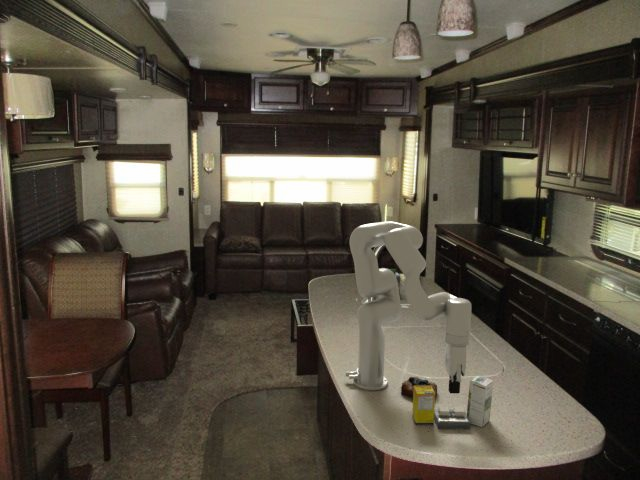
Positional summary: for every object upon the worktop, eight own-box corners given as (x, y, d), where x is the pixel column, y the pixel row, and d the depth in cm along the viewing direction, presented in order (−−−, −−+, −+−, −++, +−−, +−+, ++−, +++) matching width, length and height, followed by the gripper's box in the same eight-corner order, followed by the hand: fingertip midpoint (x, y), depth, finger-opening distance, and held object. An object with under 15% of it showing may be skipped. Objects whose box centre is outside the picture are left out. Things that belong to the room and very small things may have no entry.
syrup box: (473, 415, 183) (476, 374, 180) (490, 421, 180) (493, 379, 177) (465, 421, 179) (468, 380, 176) (483, 428, 175) (486, 386, 172)
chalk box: (396, 291, 323) (398, 266, 320) (400, 295, 314) (401, 270, 311) (381, 291, 322) (382, 266, 319) (384, 295, 313) (385, 270, 310)
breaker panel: (437, 428, 175) (438, 420, 174) (433, 415, 182) (433, 408, 182) (469, 429, 174) (470, 421, 174) (463, 416, 182) (464, 409, 182)
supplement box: (429, 415, 183) (431, 385, 180) (433, 425, 177) (435, 393, 175) (411, 415, 182) (413, 385, 180) (415, 425, 177) (417, 393, 174)
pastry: (412, 384, 206) (413, 369, 204) (441, 394, 198) (442, 378, 197) (397, 394, 197) (397, 379, 196) (427, 405, 190) (428, 389, 189)
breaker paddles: (438, 415, 178) (439, 411, 177) (437, 410, 179) (438, 406, 178) (464, 415, 178) (465, 411, 177) (463, 411, 179) (464, 407, 178)
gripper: (440, 329, 180) (437, 381, 183) (450, 346, 165) (447, 403, 169) (463, 329, 180) (460, 382, 183) (475, 346, 165) (471, 403, 169)
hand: (454, 392), depth 176 cm, fingers closed
